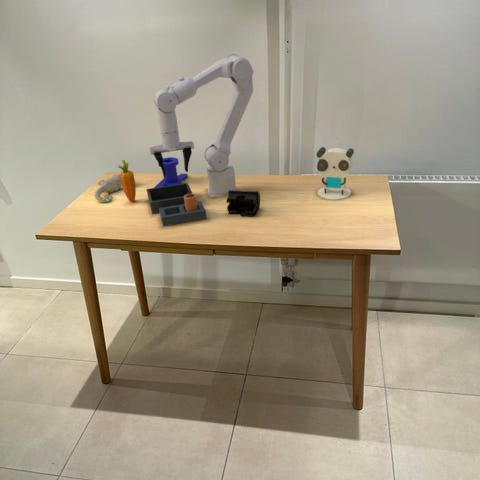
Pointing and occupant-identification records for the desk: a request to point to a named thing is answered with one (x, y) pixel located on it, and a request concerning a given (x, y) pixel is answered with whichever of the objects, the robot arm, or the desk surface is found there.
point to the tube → (190, 202)
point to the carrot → (127, 182)
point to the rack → (181, 214)
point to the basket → (167, 196)
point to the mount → (171, 173)
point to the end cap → (243, 202)
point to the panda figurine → (334, 172)
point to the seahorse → (108, 187)
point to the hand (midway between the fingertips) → (175, 172)
